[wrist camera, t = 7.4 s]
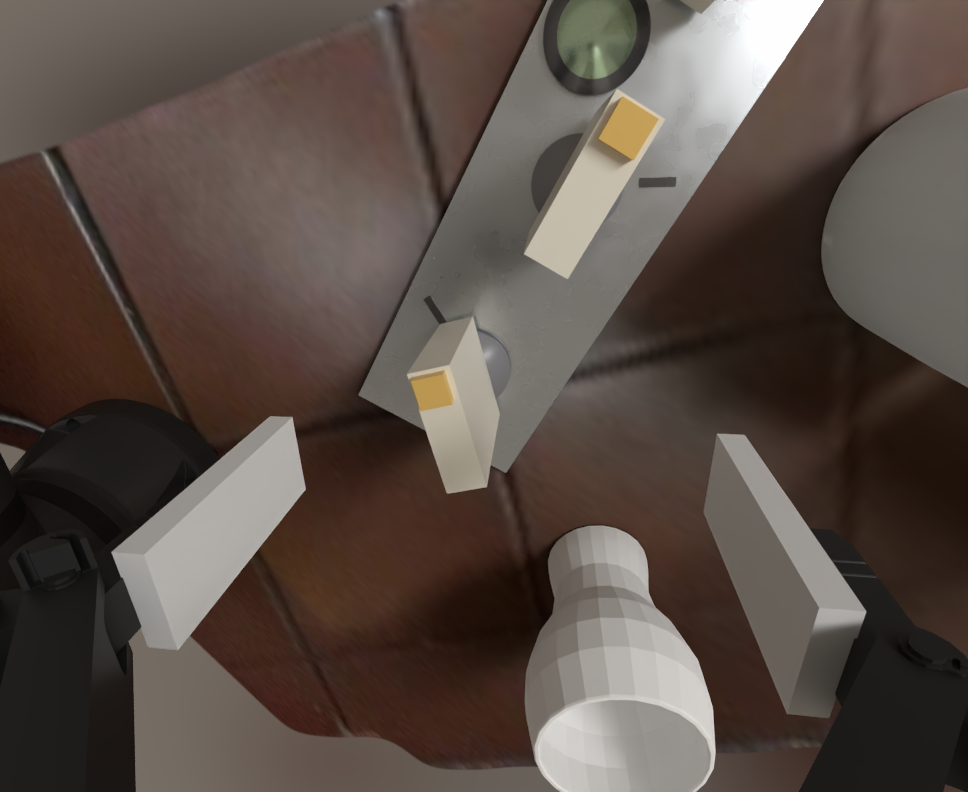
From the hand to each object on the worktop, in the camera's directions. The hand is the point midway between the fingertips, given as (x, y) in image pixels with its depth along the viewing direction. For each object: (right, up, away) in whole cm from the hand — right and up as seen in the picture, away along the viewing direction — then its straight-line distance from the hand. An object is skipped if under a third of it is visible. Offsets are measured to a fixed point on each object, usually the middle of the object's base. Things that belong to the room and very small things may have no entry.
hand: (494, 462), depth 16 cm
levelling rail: (+5, +15, +14) cm, 21 cm away
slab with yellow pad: (-1, +4, +19) cm, 19 cm away
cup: (+9, -11, +26) cm, 29 cm away
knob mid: (+5, +14, +14) cm, 20 cm away
